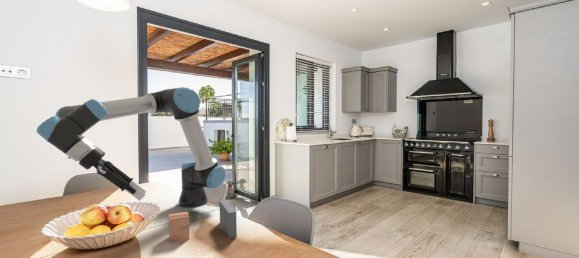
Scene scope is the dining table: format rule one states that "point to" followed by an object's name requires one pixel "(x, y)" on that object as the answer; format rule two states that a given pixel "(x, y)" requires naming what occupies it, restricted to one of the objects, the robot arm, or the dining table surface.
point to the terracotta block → (179, 227)
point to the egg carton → (192, 214)
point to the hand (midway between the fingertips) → (142, 195)
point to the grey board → (228, 218)
